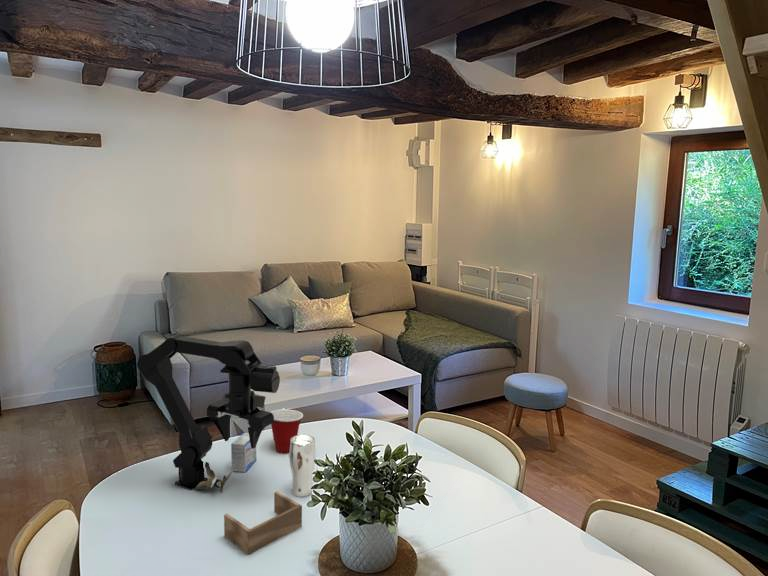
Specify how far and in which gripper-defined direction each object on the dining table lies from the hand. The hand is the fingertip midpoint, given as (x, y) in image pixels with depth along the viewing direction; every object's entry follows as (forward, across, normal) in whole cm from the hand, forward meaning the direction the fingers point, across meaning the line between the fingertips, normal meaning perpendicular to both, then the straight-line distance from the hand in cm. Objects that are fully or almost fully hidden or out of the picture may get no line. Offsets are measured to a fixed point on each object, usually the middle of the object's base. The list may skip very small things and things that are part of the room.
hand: (240, 444), depth 156 cm
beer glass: (+13, -15, -8) cm, 21 cm away
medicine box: (+13, +8, -11) cm, 19 cm away
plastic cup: (+13, +4, -26) cm, 29 cm away
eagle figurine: (+13, +7, +4) cm, 16 cm away
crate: (+13, -17, +12) cm, 25 cm away
